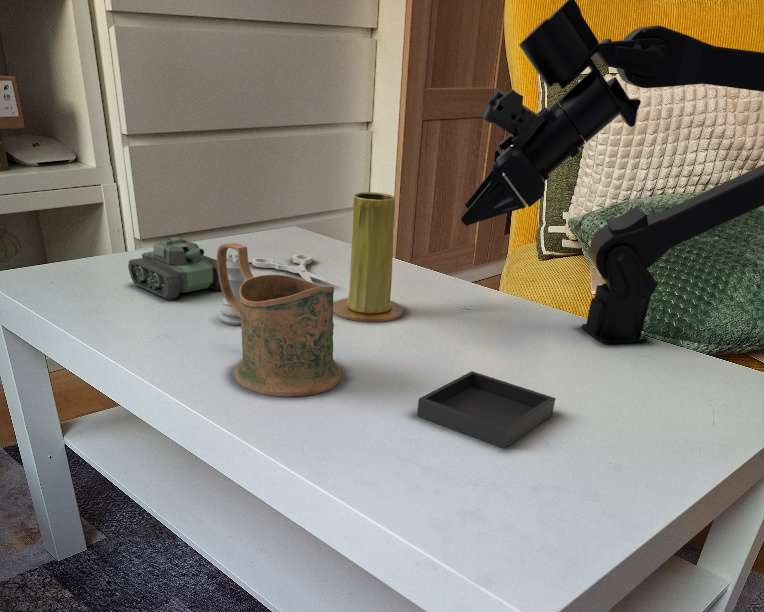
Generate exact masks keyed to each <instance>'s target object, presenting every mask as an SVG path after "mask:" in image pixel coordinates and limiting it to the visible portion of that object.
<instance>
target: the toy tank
mask: <svg viewBox="0 0 764 612" xmlns="http://www.w3.org/2000/svg"><path fill="white" fill-rule="evenodd" d="M204 254H205V250H204V249H203V248H200V246H199V245H198V244H197V243H195V242H192V241H189V240H187V239H184V238H181V237H170V236H168V237H167V238H165V239H163V240H161V241H160V242H157V243H156V244H154V245H153V251H147V252H143V253H141V257H140V258H133V259H129V260H128V265H127V268H128V272H129V276H130V279H131V280H132V283H133V284H134V285H135V286H137V287H140V288H142V289H143V290H146V291H149V292H151V293H152V294H155V295H156V296H159V297H161V298H164V299H166V300H168V301H174V300H177V299H178V297H179V295H180V293H183V294H185V293H190V292H195V291H200V290H201V291H202V290H206V289H208V288H211V289H213V290H215V291H222V290H221V287H220V282H219V277H218V269H217V259H215V258H212V257H211V256H207V255H204Z"/></svg>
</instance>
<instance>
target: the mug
mask: <svg viewBox="0 0 764 612" xmlns="http://www.w3.org/2000/svg"><path fill="white" fill-rule="evenodd" d="M229 249H232V250H235V251H236V252H237V254H238V260H239V266H240V270H241V273H242V276H243V278H244V279H245V281H244V282H243V283H242V284H241V286H240V289H239V294H240V303H239V302H238V301H237V300H236V298H235V297H234V295H233V293H232V291H231V288H230V284H229V280H228V274H227V263H226V255H227V253H228V250H229ZM248 253H249V252H248V247H247V246H246V245H243V244H240V243H235V242H231V243H223V244H221V245H220V246H219V247H218V249H217V252H216V260H217V269H218V277H219V282H220V287H221V290H220V291H221V293H222V295H223V298H224V297H225V299H226V301H227V302H228V303H229V305H230V306H231V307H232V308H233V309H234V310H235V311H236V312H237V313H238V315H239V316H240V318H241V325H240V326H241V349H242V359H241V360H240V361H239V362H238V363H237V364H236V366H235V368H234V378H235V380H236V382H237V383H238V385H240V386H241V387H243V388H244V389H247V390H249V391H252V392H254V393H258V394H262V395H266V396H274V397H305V396H311V395H316V394H320V393H324V392H327V391H330V390H331V389H332V388H335V386H337V385H338V384H339V383H340V381H341V379H342V370H341V368H340V365H338V364H337V363H336V361H335V360H334V326H335V323H334V311H333V305H334V293H335V287H334V286H326V285H321V284H319V283H316V282H315V283H314V282H313V281H312V282H313V283H312V282H309V281H306V280H305V279H303V278H299V277H294V276H291V275H287V274H286V275H285V274H263V275H257V276H256V275H255V276H254V274H253V273H252V271H251V268H250V262H248V257H249V255H248Z"/></svg>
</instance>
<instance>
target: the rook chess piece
mask: <svg viewBox="0 0 764 612" xmlns="http://www.w3.org/2000/svg"><path fill="white" fill-rule="evenodd" d="M226 263H227V274H228V280H229V284H230V288H231V291H232V293H233V295H234V297H235V298H236V300H237V301H238V302H239V303H240V294H239V289H240V286H241V284H242V283H243V282H244V281H245V279H244V278H243V276H242V273H241V270H240V266H239V260H238V253H234V257H233V254H232V253H228V254H226ZM219 312H220V315H219V320H221V322H222V323H223V324H225V325H229V326H241V318H240V316H239V315H238V313H237V312H236V311H235V310H234V309H233V308H232V307H231V306H230V305H229V303H228V302H227V301H226V299H225V297H224V296H223V300H222V303H221V304H220V305H219Z"/></svg>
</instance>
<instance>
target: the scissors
mask: <svg viewBox="0 0 764 612" xmlns="http://www.w3.org/2000/svg"><path fill="white" fill-rule="evenodd" d="M312 261H313V259H312V256H311V255H309V254H304V253H300V254H299V253H298V254H294V255H293V256H292V262H293V263H294V264H298V265H297V266H295V265H287V264H280V263H277V262H275V260H274V259H272V258H268V257H267V258H266V257H251V256H248V263H249V264H250V263H251V265H252V266H253V267H256V268H257V267H258V268H265V269H266V268H271V269H276V270H282V271H288V272H290V273H293V274H298V275H300V276H301V278H302V279H303V280H306V281H309V282H312V283H314V282H313V280H312V278H313V279H317V280H320V281H323V282H326V283H329V284H332V285H335V286H339V287H340V285H339V284H337V283H335V282H333V281H331V280H329V279H328V278H327V279H326V278H325V277H322V276H320V275H317V274H315V273H312V272H311V271H308V270H307V268H306V267H307V264H308V265H309V264H311V263H312Z"/></svg>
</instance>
